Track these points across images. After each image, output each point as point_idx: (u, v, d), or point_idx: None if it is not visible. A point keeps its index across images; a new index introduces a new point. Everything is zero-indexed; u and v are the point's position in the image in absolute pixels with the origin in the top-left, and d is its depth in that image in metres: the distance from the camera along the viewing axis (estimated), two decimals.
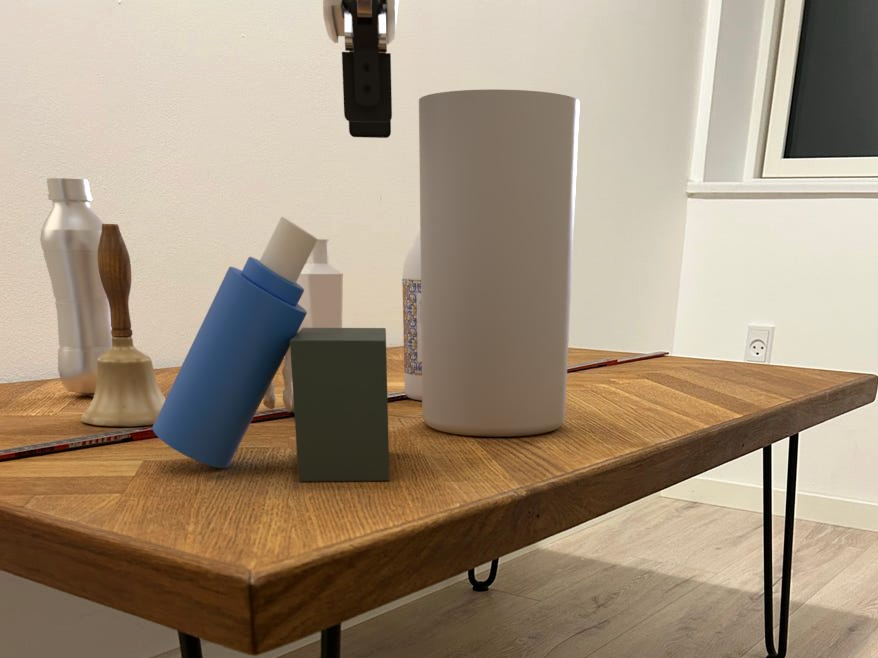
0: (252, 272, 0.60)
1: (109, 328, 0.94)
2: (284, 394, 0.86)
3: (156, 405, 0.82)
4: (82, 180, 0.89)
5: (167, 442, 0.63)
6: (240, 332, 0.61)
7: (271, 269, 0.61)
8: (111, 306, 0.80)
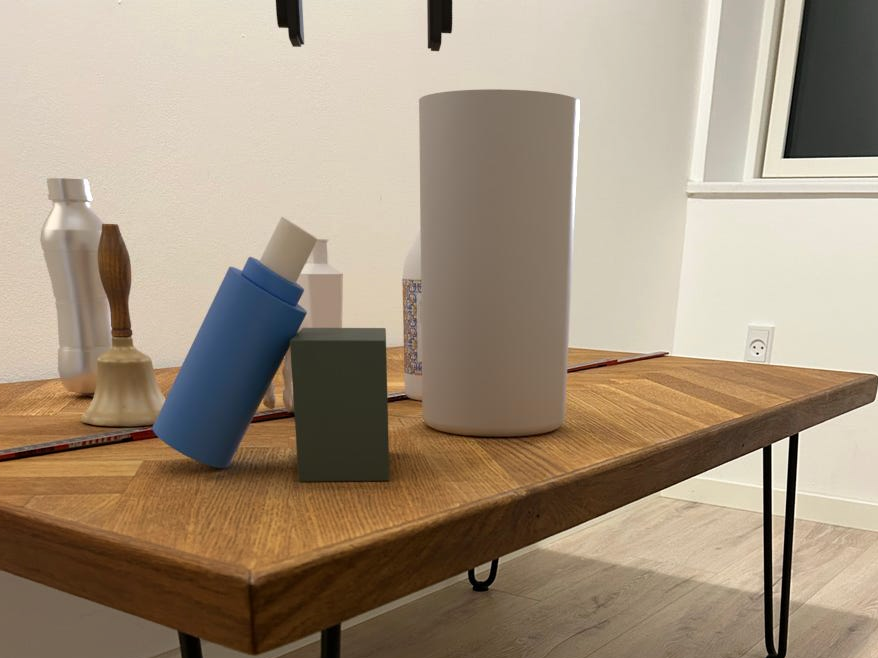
0: (252, 272, 0.60)
1: (109, 328, 0.94)
2: (284, 394, 0.86)
3: (156, 405, 0.82)
4: (82, 180, 0.89)
5: (167, 442, 0.63)
6: (240, 332, 0.61)
7: (271, 269, 0.61)
8: (111, 306, 0.80)
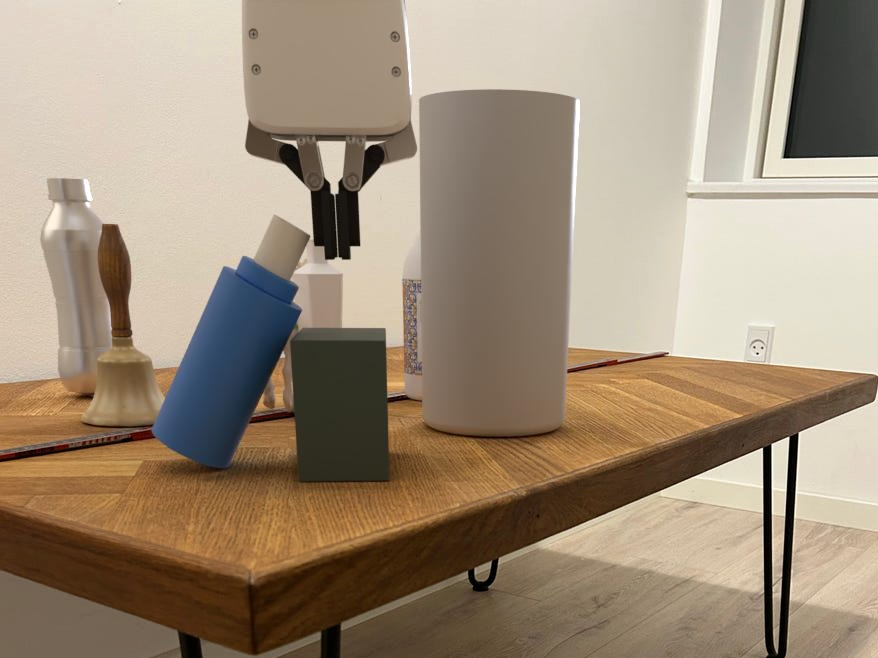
0: (247, 271, 0.60)
1: (109, 328, 0.94)
2: (284, 394, 0.86)
3: (156, 405, 0.82)
4: (82, 180, 0.89)
5: (166, 444, 0.63)
6: (236, 331, 0.61)
7: (265, 267, 0.61)
8: (111, 306, 0.80)
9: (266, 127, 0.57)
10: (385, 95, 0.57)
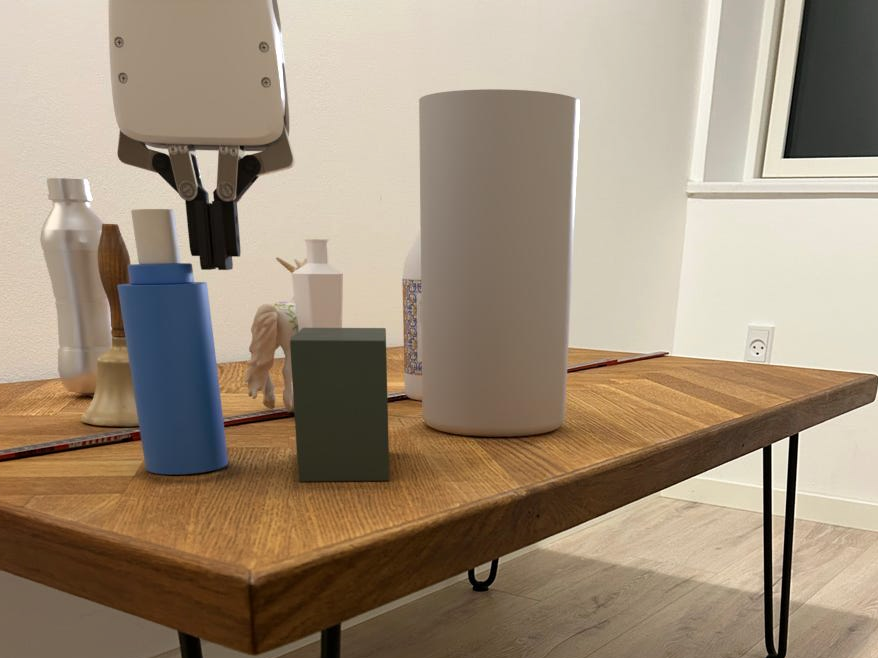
0: (136, 275, 0.60)
1: (109, 328, 0.94)
2: (284, 394, 0.86)
3: None
4: (82, 180, 0.89)
5: (161, 472, 0.64)
6: (157, 335, 0.60)
7: (150, 262, 0.60)
8: (111, 306, 0.80)
9: (136, 136, 0.57)
10: (255, 106, 0.56)
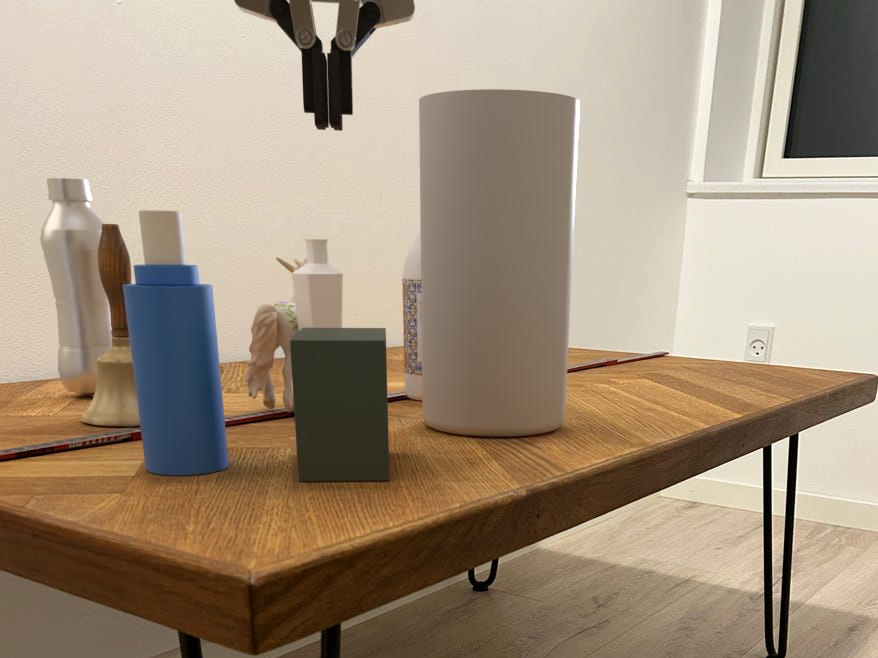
0: (142, 276, 0.60)
1: (109, 328, 0.94)
2: (284, 394, 0.86)
3: None
4: (82, 180, 0.89)
5: (161, 472, 0.64)
6: (161, 336, 0.60)
7: (156, 263, 0.60)
8: (111, 306, 0.80)
9: None
10: None
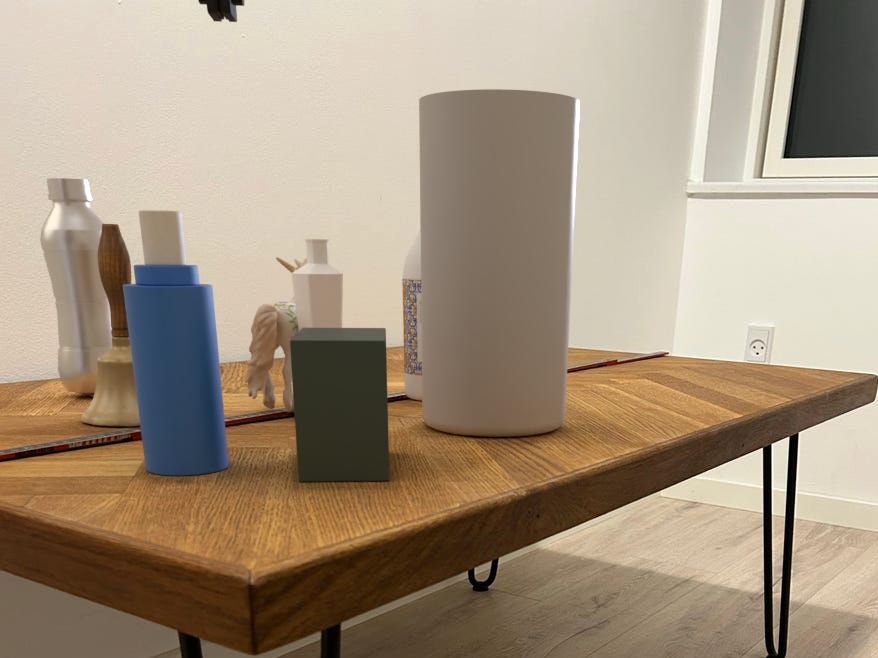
0: (142, 276, 0.60)
1: (109, 328, 0.94)
2: (284, 394, 0.86)
3: None
4: (82, 180, 0.89)
5: (161, 472, 0.64)
6: (161, 336, 0.60)
7: (156, 263, 0.60)
8: (111, 306, 0.80)
9: None
10: None
